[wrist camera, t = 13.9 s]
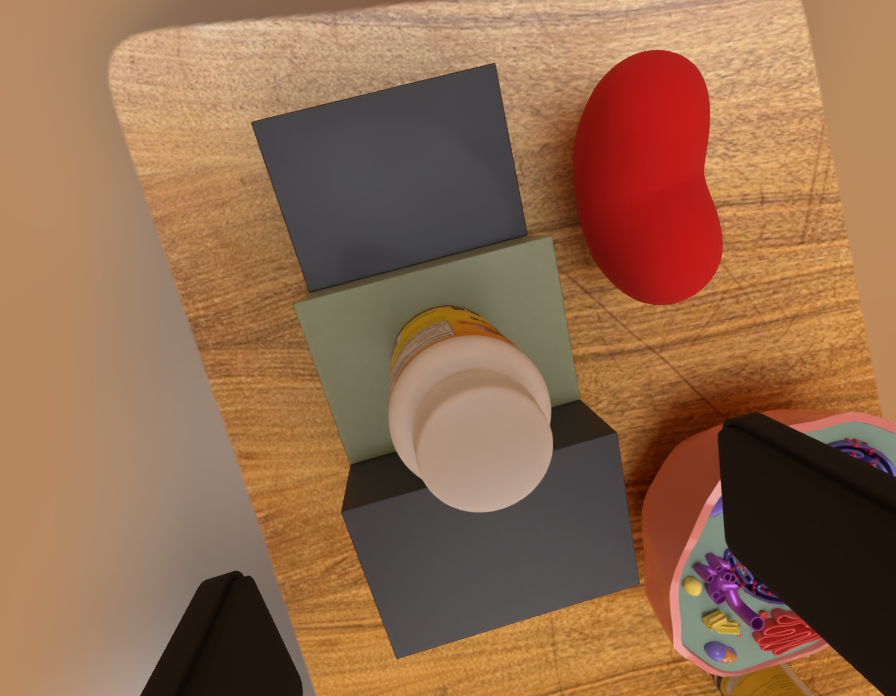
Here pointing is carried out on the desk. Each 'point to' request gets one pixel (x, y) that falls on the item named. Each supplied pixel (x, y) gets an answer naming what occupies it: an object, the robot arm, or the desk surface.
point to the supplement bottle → (468, 410)
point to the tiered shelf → (412, 291)
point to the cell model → (713, 565)
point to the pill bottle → (764, 683)
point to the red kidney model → (648, 179)
